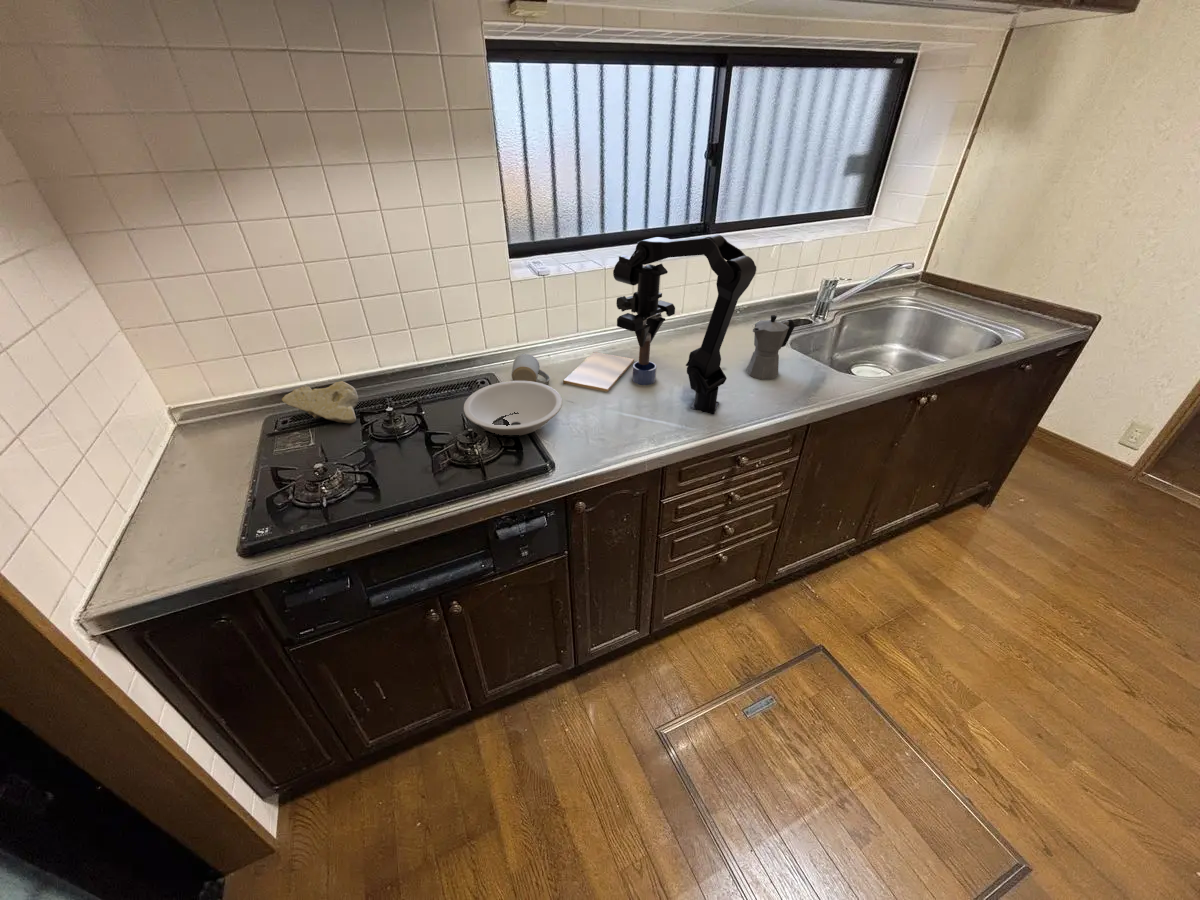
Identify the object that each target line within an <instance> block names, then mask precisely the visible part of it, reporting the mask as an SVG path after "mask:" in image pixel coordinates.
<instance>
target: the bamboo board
mask: <svg viewBox="0 0 1200 900" xmlns="http://www.w3.org/2000/svg"><path fill="white" fill-rule="evenodd" d="M634 363H635V358H632V357H626V356H625V357H624V356H620V355H615V354H614V355H613V354H607V353H602V352H596V351H593V352H592V353H590V355H588V357H586V358H585V359H584V360H583V361H582V362H581V363H580V364H579V365H577V367H576V368H575V369H573V371H572V372H570V373H569V374H568V375H567V376H566V377H565V378H564V379H563V380H562V383H563V385H566V384H567V385H573V386H578V387H583V388H588V389H592V390H597V391H603V392H606V393H607V392H609V391H610V390H611V389H612V387H614V385H615V384H616V383H617V382H618V381H619V380H620V378H621V377H622V376H623V375H624V374H625V372H626V371H627V370H628V369H629V368H630V367H631V365H633V364H634Z"/></svg>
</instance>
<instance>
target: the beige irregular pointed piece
mask: <svg viewBox="0 0 1200 900" xmlns="http://www.w3.org/2000/svg"><path fill="white" fill-rule="evenodd" d="M308 385H309V383H306V384H304V385H302V386H300V387H299V388H293V390H292V391H291V392H289V393H287V394H285V395H284V396H283V397H281V401H282V402H283V403H284V404H285V405H288V406H289V407H293V408H295V409H298V410H300V411H303V412H305V413H308V415H310V416H312V417H313V419H319V418H324V419H325V420H328V421H333V422H336V423H345V424H354V423H356V422H357V416H356V413H355V408H356V407H357V406H358V403H359V395H358V392H357V389H356V388H355V387H354V386H352V385H351V384H349V383H347V382H345V381H342V380H341V381H336V382H333V383H332V384H330V385H329V386H327V387H323V388H313V389H312V388H311V387H310V386H308Z"/></svg>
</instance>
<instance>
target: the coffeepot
mask: <svg viewBox="0 0 1200 900" xmlns="http://www.w3.org/2000/svg"><path fill="white" fill-rule="evenodd" d="M777 317H778V316H777V315H775V314H772V315H770V319H761V320H758V321H757V322H756V323H754V327H753V328H752V332H753V334H754V338H753V339H754V341H753V345H754V351H753V352H752V354H751V357H750V359H749V362H748V365H747V368H746V372H747V374H748V375H749V376H750V377H751V378H754V379H757V380H767V381H768V380H773V379H775V378H776V377H777V376H778V375H779V362H780V360H779V359H780V355H779V352H780V350H781V349H782V348H784V347H786V345H787V343H788V342H789V339H790V337H791V336H792V333H793V331H794V329H795V327H796V324H795V323H794V320H793V319H787V320H786V319H785V320H781V321H778V320H777Z"/></svg>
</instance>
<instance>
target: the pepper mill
mask: <svg viewBox="0 0 1200 900" xmlns="http://www.w3.org/2000/svg"><path fill="white" fill-rule="evenodd" d="M650 342H651V334H650V333H648V334H647V337H646V340H645V343H644V346H643V347H640V346H639V348H638V352H639V353H638V361H639V364H641V365H647V364H649V361H650V355H651V343H652V342H651V343H650Z"/></svg>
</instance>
